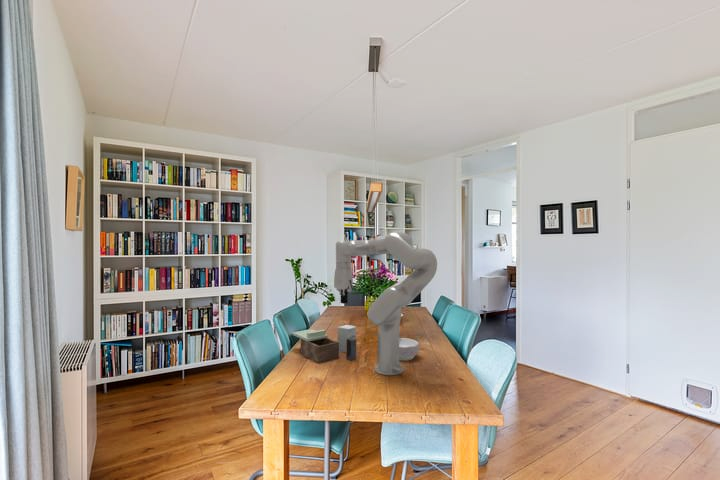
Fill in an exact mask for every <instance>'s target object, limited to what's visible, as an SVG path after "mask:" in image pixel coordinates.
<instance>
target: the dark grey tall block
mask: <svg viewBox="0 0 720 480" xmlns="http://www.w3.org/2000/svg"><path fill="white" fill-rule="evenodd" d="M346 360H347V361H349V362H353V361H356V360H357V338H356V339H354V338H349V339H347V353H346Z"/></svg>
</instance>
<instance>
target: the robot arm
mask: <svg viewBox="0 0 720 480" xmlns="http://www.w3.org/2000/svg"><path fill="white" fill-rule="evenodd" d="M388 254H389V255H391V256H392V257H394V258H395V259H396V260H397V261H398V262H399V263H401V264H402V265H403V266H404V267H406V269H409V270H412V272H411V273H409V274H408V275H407V276H406V278H405V279H404V280H403V281H402V282H401V283H399V284H396V285H391V286H389V287H387V288H386V289H384V291H382V292H381V294H380V295H378V297H377V298H375V300H374V301H373V302H372V303H371V305H370V306H369V307H368V311H367V318H368V320H369V321H370V322H369V323H372V324H373V325H375V326H378V329H377V330H378V332H377V364H376V365H374V372H375V373H377V374H378V375H383V376H397V375H399V374H402V373H403V372H404V370H406V369H405V368H406V367H404V366H402V364H401V363H402V361H401V360H399V338H400V324H401V318H402V308H404V307H406V306H409V305H410V304H411V303H412V302H413V300H415V299H416V298H417V296H419V294H420V293H421V292H422V291H423V290H424V289H425V287H427V286H428V284H430V282H431V281H433V279H434V277H435V275H436V273H437V270H438V259H437V256H436V255H435V254H434V252H433V250H430V249H428V248H415V247H413V239H412V237H411V235H410V234H408V233H406V232H390V233H388V234H383V235H378V236H376V238H372V239H366V240H365V239H364V240H363V239H362V240H359V239H358V240H355V239H354V240H352V239H351V240H340V241H339V240H338V241H336V243H335V270H334V278H333V284H334V285H333V287H334V289H336V291H338V292H339V295H340V303H341V304H343V305H344V304H348V298H349V297H348V296H349V293H351V292H352V289H353V287H354V278H353V277H354V276H353V271H352V257H357V256H372V255H388Z"/></svg>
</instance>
